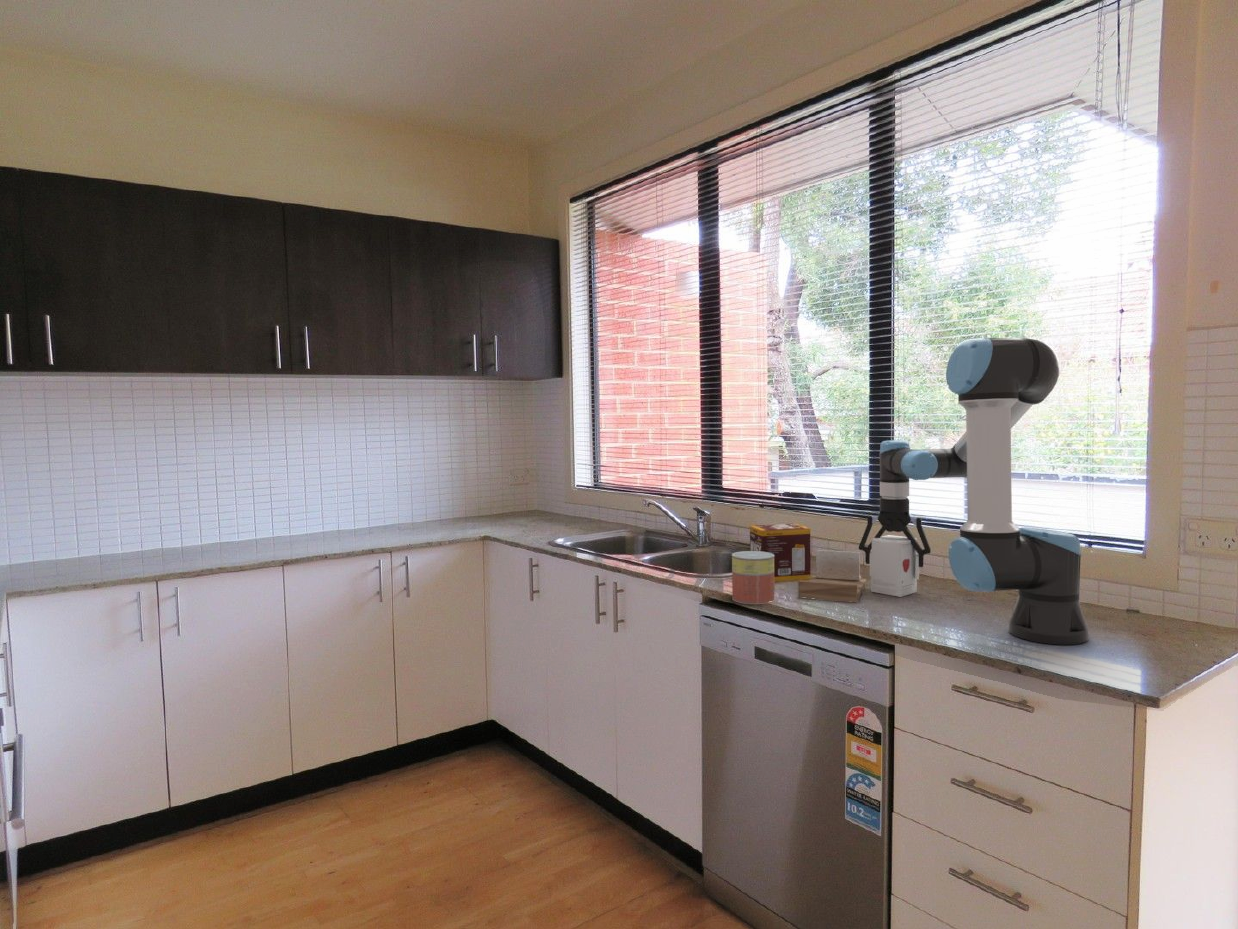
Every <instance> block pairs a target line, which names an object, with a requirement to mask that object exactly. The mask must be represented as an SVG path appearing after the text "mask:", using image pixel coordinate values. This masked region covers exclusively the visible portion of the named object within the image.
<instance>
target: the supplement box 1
mask: <svg viewBox="0 0 1238 929" xmlns="http://www.w3.org/2000/svg"><path fill="white" fill-rule="evenodd" d="M749 551H763V552H769V553H772V554H774V555H775V556H774V583H779V582H780V583H781V582H782V581H783V582H791V581H792V582H795V581H796V582H797V581H799V580H804V581H809V580H810V579H811V577H812V576H811V574H812V573H811V567H812V566H811V559H812V558H811V528H810V527H807V526H804V525H801V524H798V523H795V522H793V523H780V524H779V523H778V524H760V525H758V524H755V525H749Z"/></svg>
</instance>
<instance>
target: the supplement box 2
mask: <svg viewBox="0 0 1238 929" xmlns="http://www.w3.org/2000/svg"><path fill="white" fill-rule="evenodd" d="M914 538H915V540H916V541H917V542H918V538H916V537H914ZM871 541H872V549H871V552H872V559H871V577H870V578H871V579H870V580H871V581H870V585H871V586H870V592H872V593H877V594H882V595H887V596H892V597H897V598H902V597H906V596H909V595H911V594H915V593H917V589H918V588H917V587H918V586H917V584H918V583H917V582H918V580H915V561H916V554H918V553H917V551H916V550H915V548H914V547H913V545H912V544H911V540H908V538H907V537H906V536H902V535H901V536H900V535H893V534H888V535H883V536H881V537H880V538H874V537H873V538H871Z"/></svg>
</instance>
